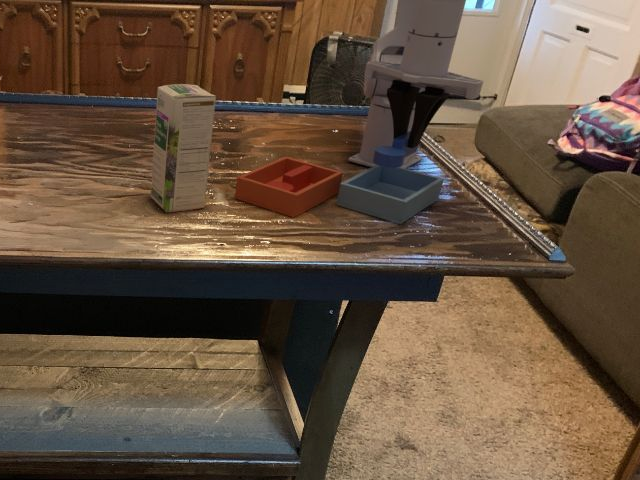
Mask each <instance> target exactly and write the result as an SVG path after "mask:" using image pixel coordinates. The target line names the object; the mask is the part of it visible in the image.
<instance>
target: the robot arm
mask: <svg viewBox="0 0 640 480" xmlns="http://www.w3.org/2000/svg"><path fill="white" fill-rule="evenodd" d="M466 2H467V0H397V4H396V11H395V16H394V17H395V18H394V25H393V29H391V30H390V31H388V32H386V33H385V34H383V35H382V36H381V37H379V38H377V39H376V40H375V42H374V44H373V45H372V47H371V49H370V52H369V59H368V62H366V65H365V70H364V75H363V78H364V82H363V94H364V95H365V97H366V99H370V103H369V108H368V113H367V116H366V117H367V118H366V123H365V126H364V132H363V136H362V140H361V141H362V142H361V146H360V150H359V151H360V152H358V153H356V154H354V155H352V156H350V157H349V158H348V162H350V163H354V164H358V165H361V166H365V167H369V168H371V167H373V166H375V165H376V164H375V163H373V157H374V153H375V149H376V148H377V147H381V146H390V147H392V144H393V139H394V138H397V137H399V136H401V135H403V134H405V133H407V132H409V131H411V132H410V135H409V140H408V148H414V147H416V146H418V148H417V152H415V153H413V154H411V155H409V156H407V157H405V158H404V162H403V165H402V166H401V167H402V168H406V169H408V168H410V167H411V166H413V165H414V164H417V163H418V162H420V161H421V160H423V159H422V158H423V157H422V156H421V155H417V154H418V149H419V145H420V142H421V140H422V138H423V136H424V134H425V132H426V130H427V128H428V126H429V124H430V123H431V121H432V120H433V118H434V116H435V115H436V113H437V112H438V111H439V109H440V108H441V107H442V106H443V104H444V103H445V102H446V101H447V100H448V98H449V97H450V95H455V96H460V97H464V98H465V99H468V100H471V101H472V100H475V99H478V98H479V97H480V94H481V91H482V87H483V84H484V80H482V79H477V78H473V77H469V76H465V75H463V74H462V75H461V74H458V73H455V72H452V71H449V68H450V64H451V60H452V55H453V52H454V48H455V45H456V40H457V37H458V33H459V29H460V26H461V22H462V18H463V13H464V10H465V6H466Z"/></svg>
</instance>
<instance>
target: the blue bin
mask: <svg viewBox="0 0 640 480" xmlns="http://www.w3.org/2000/svg"><path fill="white" fill-rule="evenodd" d="M444 181H445V178H443V177H440V176H436V175H433V174H429V173H424V172H421V171H417V170H413V169H410V168H402V167H397V168H388V167H382V166H379V165H375V166H373V167H369V168H367V169H365V170H364V171H362V172H359V173H358V174H356V175H354V176H352V177H350V178H348V179H346V180H344V181H341V184H340V189H339V193H338V194H337V198H336V206H339V207H342V208H346V209H348V210H352V211H355V212H358V213H362V214H366V215H369V216H372V217H375V218H378V219H381V220H385V221H388V222H392V223H395V224H398V225H402V224H404V223H405V222H406V221H408V220H410V219H411V218H412V217H414V216H416V215H417V214H419V213H420V212H421V211H423V210H425V209H426V208H428V207H429V206H431V205H432V204H434V203H436V202H437V201H438V200H440V199H439V198H440V196H441V192H442V189H443V184H444Z"/></svg>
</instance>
